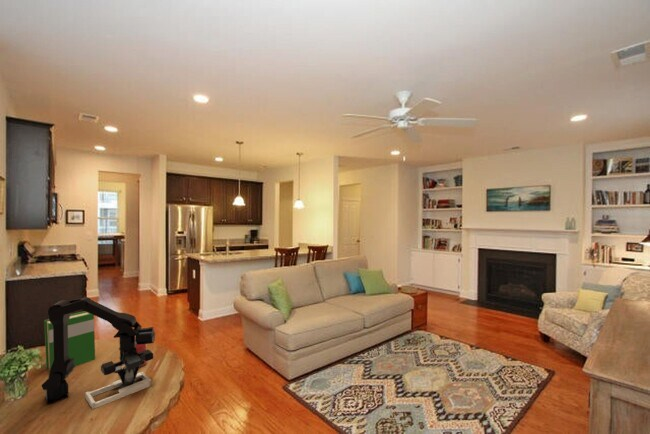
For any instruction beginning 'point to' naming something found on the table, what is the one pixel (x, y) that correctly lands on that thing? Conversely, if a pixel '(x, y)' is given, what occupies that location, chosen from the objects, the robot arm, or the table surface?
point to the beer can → (140, 350)
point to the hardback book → (74, 339)
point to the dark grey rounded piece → (128, 377)
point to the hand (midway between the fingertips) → (128, 380)
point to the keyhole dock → (122, 392)
